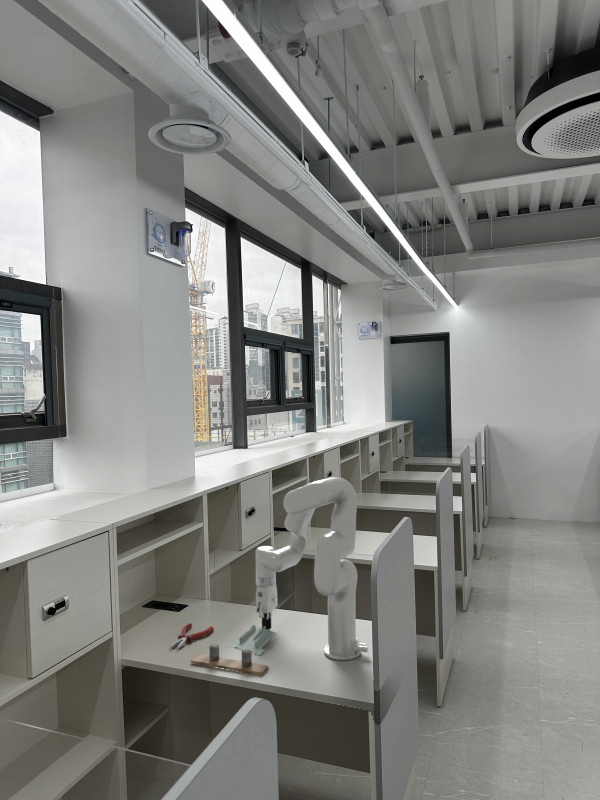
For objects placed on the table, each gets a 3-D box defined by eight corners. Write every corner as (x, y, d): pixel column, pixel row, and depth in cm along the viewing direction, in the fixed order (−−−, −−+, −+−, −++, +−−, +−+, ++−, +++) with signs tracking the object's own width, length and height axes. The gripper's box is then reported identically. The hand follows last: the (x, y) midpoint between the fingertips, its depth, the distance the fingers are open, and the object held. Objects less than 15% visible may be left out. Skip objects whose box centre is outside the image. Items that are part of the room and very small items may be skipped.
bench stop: (268, 669, 180) (268, 652, 181) (262, 676, 176) (261, 659, 176) (199, 657, 190) (198, 641, 190) (191, 663, 185) (190, 647, 185)
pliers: (159, 650, 197) (159, 642, 197) (188, 628, 216) (188, 621, 216) (187, 654, 193) (187, 647, 193) (215, 632, 212) (215, 625, 212)
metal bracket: (249, 619, 209) (281, 628, 200) (252, 632, 210) (284, 641, 201) (224, 643, 198) (256, 653, 189) (227, 657, 199) (259, 668, 190)
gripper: (266, 587, 202) (267, 637, 202) (282, 575, 216) (283, 622, 216) (247, 585, 205) (248, 635, 205) (265, 573, 219) (266, 620, 219)
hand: (266, 628), depth 210 cm, fingers closed
